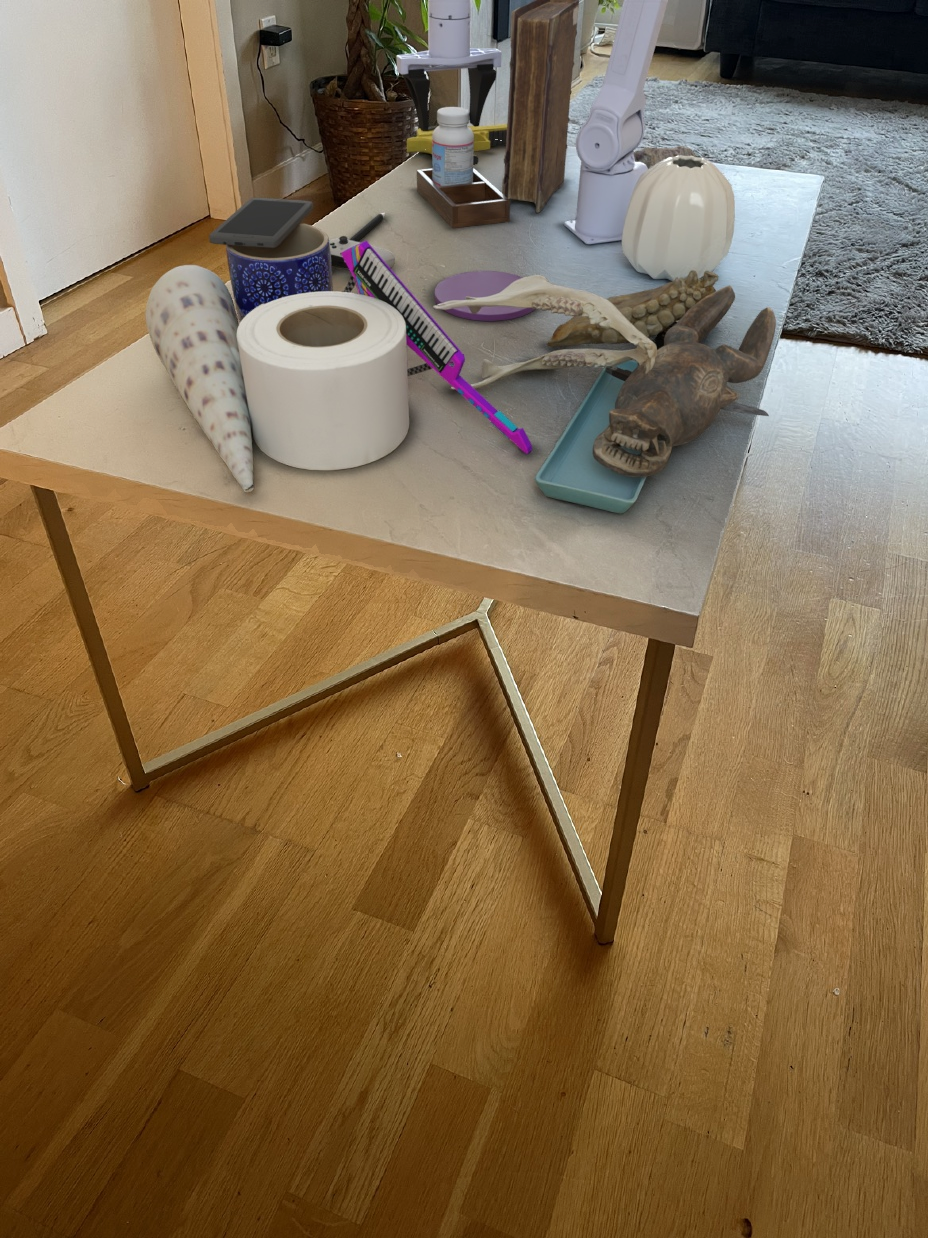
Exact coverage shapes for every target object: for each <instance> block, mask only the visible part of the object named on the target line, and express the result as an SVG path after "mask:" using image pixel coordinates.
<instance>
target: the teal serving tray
mask: <svg viewBox="0 0 928 1238" xmlns="http://www.w3.org/2000/svg"><path fill="white" fill-rule="evenodd" d="M637 366H638V362H637V361H636V360H634V359H632V360H629V361H626V362H624V363H621V364H619V365H616V367H618V368H621V369H623V370H629V371H631V372H633V371H634V370H635V369H636V367H637ZM605 369H606V367H602V370H601V371H600V373H599V374H598V376H597V377H596V379H595V381H594V383H593V384H592V386H591V388H590V389H589V391H588V392H587V394H586V395H585V397H584V399H583V401H582V402H581V403H580V405H579V406H578V408H577V410H576V412H575V413H574V414H573V416H572V417H571V420H570V421H569V422H568V424H567V425H566V427H565V429H564V431H563V432H562V434H561V435H560V437H559V439H558V440H557V441H556V443H555V445H554V447H553V448H552V450H551V451H550V453H549V454H548V456H547V458H546V459H545V460H544V462H543V464H542V466H541V467H540V468H539V470H538V472H537V473H536V474H535V475H534V481H535V483H536V485H537V486H538V488H539V489H540V490H541V492H542V493H543V495H544V496H545V497H548V498H552V499H555V500H561V501H565V502H569V503H572V504H577V505H582V506H586V507H589V508H595V509H599V510H602V511H607V512H612V513H616V514H624V513H626V512H627V511H628V510H629V509H630V508H631V507H632V506H633V505H634V504H635V503H636V502H637V499H638V497H639V494H640V492H641V490H642V487H643V486H644V484H645V481H646V479H647V477H648V476H645V477H629V476H625V475H622V474H619V473H616V472H613V471H612V470H611V469H609V468H607V467H604V466H603V465H602V464H600V463H599V462H598V461H596V460H595V459H594V457H593V451H592V449H593V445H594V441H595V439H596V438H597V436H598V435H599V434H600V433H602V432H603V431H604V430H606V428H607V427H608V426H609V424H610V423H609V412H610V411H611V410H613V409H615V402H616V399H617V397H618V394H619V391H620V389H621V387H622V385H623V384H624V382H625V381H623V380H620V379H618V378H616V377H614V376H612V375H610V374H609V373H607V372H606V371H605ZM621 448H623V449H624V450H626V451H627V452H629V453H632V454H636V455H638V454H640V453H641V450H640V451H637V450H636V449H635V450H633V449H632V448H627V447H626V446H622V447H621Z"/></svg>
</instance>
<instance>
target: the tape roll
mask: <svg viewBox="0 0 928 1238" xmlns="http://www.w3.org/2000/svg"><path fill="white" fill-rule="evenodd" d="M238 324H239V326H238V329H237V342H238V348H239V354H240V360H241V366H242V372H243V378H244V384H245V390H246V396H247V402H248V408H249V414H250V424H251V433H252V438H253V440H254V443H255V444H256V446H257V447H258V449H259V450H260V451H261V452H262V453H263V454H265V455H266V456H267V457H269V458H271V459H272V460H274V461H275V462H278V463H281V464H283V465H287V466H289V467H293V468H297V469H302V470H309V471H339V470H345V469H351V468H357V467H360V466H361V467H362V466H364V465H368V464H370V463H373V462H376V461H378V460H380V459H382V458H384V457H386V456H387V455H389V454H391V453H392V452H393V451H395V450H396V449H397V448H398V447H399V446H400V445H401V444H402V442H404V440H405V438H406V437H407V434H408V432H409V430H410V429H409V428H410V409H409V403H410V402H409V378H408V377H409V376H408V374H407V369H408V352H407V351H408V350H407V349H408V348H407V347H408V345H406V324H405V320H404V318H403V316H402V315H401V314H400V313H399V311H398V310H396V309H395V308H394V307H392V306H391V305H389V304H388V303H386V302H384V301H381V300H379V299H376V298H373V297H370V296H366V295H361V294H359V293H356V292H351V293H349V292H344V291H334V290H333V291H322V292H309V293H302V294H296V295H291V296H286V297H283V298H279V299H276V300H273V301H271V302H268V303H266V304H261V305H259V306H258V307H256V308H255V309H253V310H252V311H251V312H250V313H248V314H247V315H246V316H245V317H244V318H243V319H242V321H241V322H240V321H239V323H238Z"/></svg>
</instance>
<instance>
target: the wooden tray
mask: <svg viewBox="0 0 928 1238" xmlns="http://www.w3.org/2000/svg"><path fill="white" fill-rule="evenodd" d="M416 192H417V193H419V194H420V196H421V197H422V198H423V199H424V200H425V201H426V202H427V203H428V204H429V205H430V206H431V207H432V208H433V209H434V211H436V212H437V213H438V214H439V216H440V217H442V219H443V220H444V221H445V222H446V223H447V224H448V225H449V226H450V227H451V228H452V229H458V228H467V227H475V226H484V225H492V224H501V223H509V222H510V207H511V200H509V199H508V198H507V197H506V196H505V195H504V194H502V191H501V190H499V189H498V188H497V187H496V186H495V185H494V184H492V182H490V181H489V180H488V179H487V178H486V177H484V176H483V175H482V174H481V173H480V172H479V171H478V170H476V169H475V168H474V167H473V183H465V184H456V185H447V186H437V185H436V184H435V183H434V182H433V181H432V168H422V169H417V170H416Z"/></svg>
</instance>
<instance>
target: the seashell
mask: <svg viewBox="0 0 928 1238" xmlns="http://www.w3.org/2000/svg"><path fill="white" fill-rule="evenodd" d="M144 315H145V324H146V329H147V333H148V335H149V338H150V341H151V344H152V346H153V348H154V351H155V353H156V354H157V356H158V358H159V360H160V362H161V363H162V366H163V367H164V368H165V369H166V371H167V373H168V375H169V377H170V379H171V381H172V383H173V385H174V387H175V389H176V391H177V392H178V394H179V395H180V397H181V398H182V399H183V401H184V403H185V404H186V406H187V408H188V409H189V412H190V413H191V415H192V417H193V418H194V419H195V420H196V422H197V423H198V425H199V427H200V429H202V431H203V433H204V434H205V435H206V437H207V438H208V440H209V441H210V442H211V444H212V446H213V447H214V449H215V450H216V452H217V454H218V455H219V456H220V458H221V459H222V461H223V462H224V463H225V465H226V466H227V468H228V469H229V471H230V472H231V474H232V476H233V478H234V479H235V480H236V482H237V483H238V485H239V486H240V487H241V489H242V490H243V491H244V492H245V493H251V492H253V490H254V489H255V488H254V487H255V484H254V480H255V479H254V474H255V473H254V461H253V460H254V459H253V457H254V455H253V444H252V443H253V440H252V439H253V438H252V426H251V420H250V414H249V408H248V402H247V396H246V390H245V384H244V378H243V372H242V366H241V360H240V354H239V348H238V342H237V329H238V326H239V324H240V323H239V318H238V314H237V310H236V306H235V302H234V299H233V297H232V294H231V292H230V290H229V287H227V285H226V284H225V282H224V281H223V280H222V278H221V277H220V276H218V275H217V274H216V273H215V272H213V271H211V270H209V269H208V268H205V267H203V266H200V265H197V264H184V265H179V266H176V267H173V268H171V269H170V270H168V271H166V272H165V273H164V274H162V276H161V277H160V278H159V279H157V281H156V282H155V283H154V285H153V287H152V288H151V290H150V293H149V295H148V298H147V301H146V306H145V314H144Z"/></svg>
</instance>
